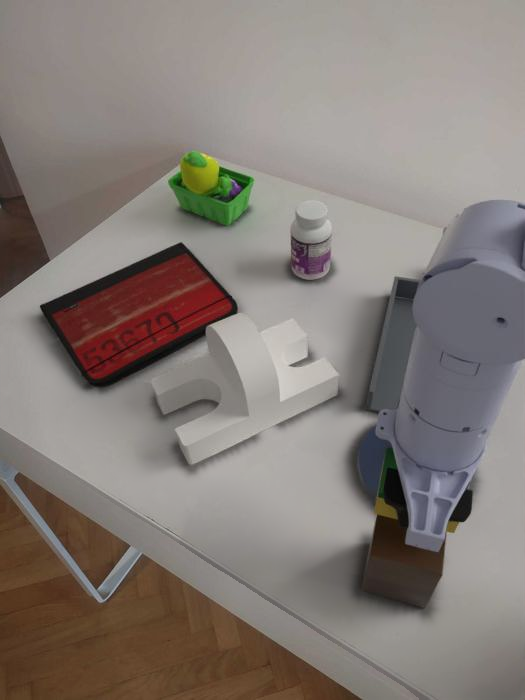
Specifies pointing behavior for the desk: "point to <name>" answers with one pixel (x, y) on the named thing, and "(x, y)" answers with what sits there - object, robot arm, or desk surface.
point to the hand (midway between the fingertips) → (417, 497)
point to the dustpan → (393, 347)
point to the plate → (373, 461)
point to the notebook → (138, 314)
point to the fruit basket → (211, 188)
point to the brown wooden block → (401, 565)
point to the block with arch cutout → (244, 384)
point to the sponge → (381, 506)
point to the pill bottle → (311, 240)
